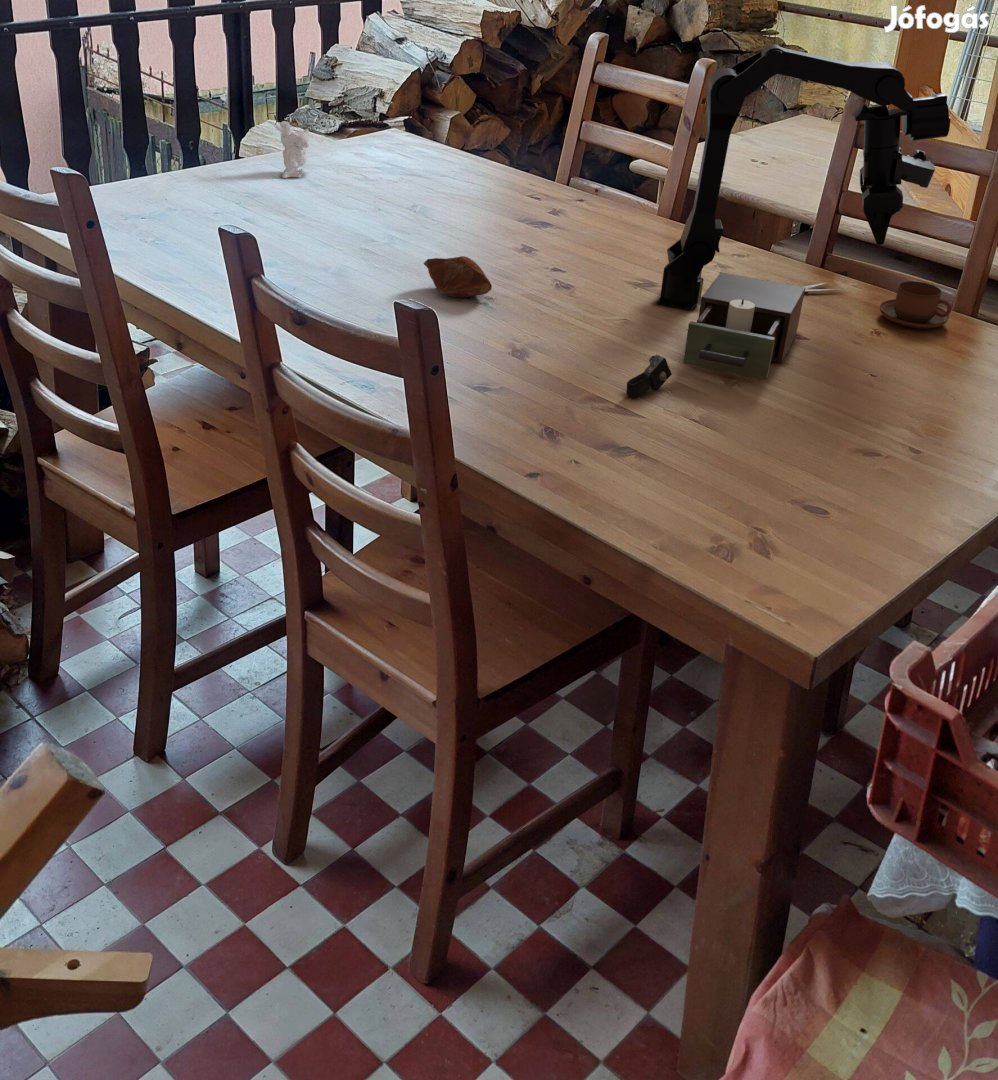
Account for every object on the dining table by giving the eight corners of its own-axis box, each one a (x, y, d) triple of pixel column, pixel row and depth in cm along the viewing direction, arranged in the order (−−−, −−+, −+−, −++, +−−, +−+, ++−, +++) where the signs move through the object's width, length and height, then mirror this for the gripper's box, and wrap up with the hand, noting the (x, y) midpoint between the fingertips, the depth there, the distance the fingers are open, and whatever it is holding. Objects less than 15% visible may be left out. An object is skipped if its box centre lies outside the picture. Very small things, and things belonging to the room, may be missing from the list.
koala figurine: (282, 181, 266) (280, 126, 259) (270, 173, 270) (267, 119, 264) (316, 177, 270) (315, 123, 263) (304, 169, 274) (302, 116, 268)
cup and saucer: (947, 315, 215) (955, 283, 211) (945, 338, 205) (954, 305, 202) (879, 305, 218) (887, 272, 214) (875, 327, 208) (883, 293, 205)
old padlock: (641, 412, 179) (631, 390, 175) (631, 407, 181) (622, 385, 177) (675, 375, 181) (666, 353, 177) (665, 371, 182) (656, 348, 178)
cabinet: (781, 363, 192) (791, 313, 187) (694, 346, 196) (701, 296, 192) (796, 335, 203) (805, 287, 198) (713, 319, 207) (720, 272, 203)
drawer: (760, 392, 180) (767, 350, 176) (675, 374, 184) (681, 333, 180) (781, 352, 194) (788, 313, 190) (701, 337, 197) (707, 298, 194)
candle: (719, 353, 189) (727, 300, 184) (724, 344, 192) (733, 293, 188) (743, 358, 188) (753, 305, 183) (749, 349, 191) (758, 297, 186)
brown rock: (505, 285, 206) (474, 236, 202) (470, 314, 204) (438, 265, 200) (474, 288, 217) (445, 242, 213) (441, 315, 215) (410, 268, 211)
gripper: (938, 155, 187) (932, 250, 195) (928, 125, 202) (923, 215, 210) (864, 160, 190) (862, 254, 198) (860, 131, 205) (858, 220, 213)
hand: (878, 235), depth 205 cm, fingers open, 9 cm apart
